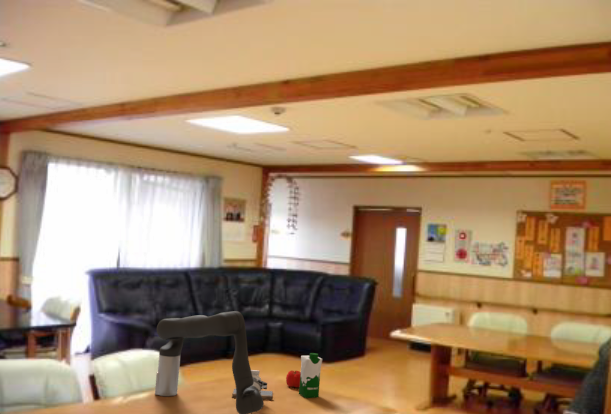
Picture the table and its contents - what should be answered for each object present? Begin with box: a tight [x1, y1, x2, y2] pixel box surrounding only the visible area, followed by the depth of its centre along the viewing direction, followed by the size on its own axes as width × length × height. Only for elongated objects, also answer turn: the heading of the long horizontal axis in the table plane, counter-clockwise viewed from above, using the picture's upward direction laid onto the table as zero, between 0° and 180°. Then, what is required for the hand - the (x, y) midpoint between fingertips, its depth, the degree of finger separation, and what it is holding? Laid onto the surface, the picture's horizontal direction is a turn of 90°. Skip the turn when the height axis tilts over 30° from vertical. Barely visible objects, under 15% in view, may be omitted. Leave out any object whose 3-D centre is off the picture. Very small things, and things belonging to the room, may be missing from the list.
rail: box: [231, 392, 273, 401], centre depth 271 cm, size 18×2×2 cm, turn 93°
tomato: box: [285, 370, 301, 389], centre depth 297 cm, size 9×9×8 cm
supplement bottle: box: [251, 369, 262, 384], centre depth 267 cm, size 7×7×13 cm
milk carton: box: [298, 352, 323, 399], centre depth 283 cm, size 9×9×20 cm
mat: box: [232, 388, 273, 397], centre depth 278 cm, size 18×10×1 cm, turn 93°
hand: (253, 379), depth 264 cm, fingers closed
